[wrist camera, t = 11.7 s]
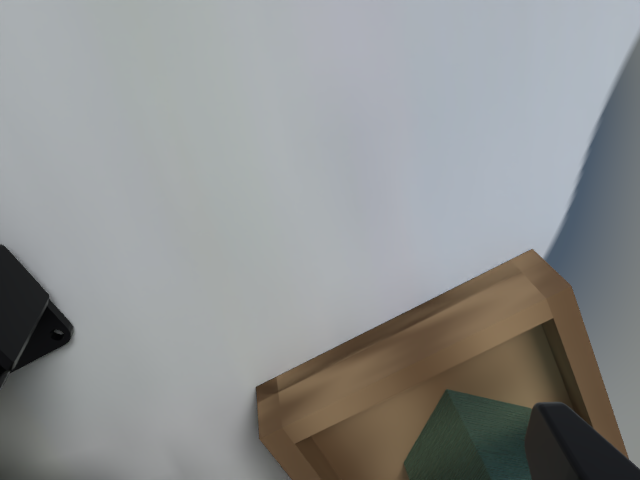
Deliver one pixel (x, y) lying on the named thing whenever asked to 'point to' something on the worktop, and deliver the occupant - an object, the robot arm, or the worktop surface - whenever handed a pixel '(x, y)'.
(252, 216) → the worktop surface
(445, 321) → the box
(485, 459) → the tea tin
